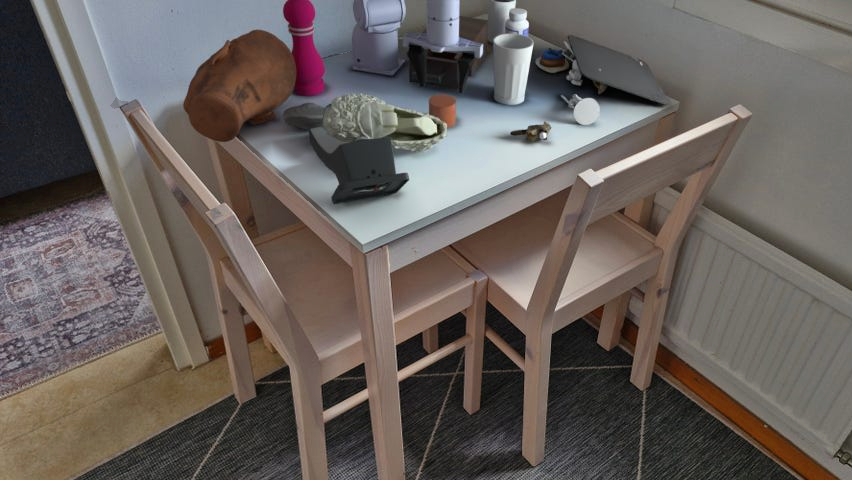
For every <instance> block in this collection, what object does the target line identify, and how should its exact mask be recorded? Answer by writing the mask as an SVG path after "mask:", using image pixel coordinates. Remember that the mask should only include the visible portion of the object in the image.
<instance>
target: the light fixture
mask: <svg viewBox="0 0 852 480" xmlns="http://www.w3.org/2000/svg"><path fill="white" fill-rule="evenodd" d="M307 132H308V138H309V143H310V145H311V147H312V149H313V151H314V153H315V154H316V155H317V157H318V158H319V159H320V161H321V162H322V163H323V165H324V166H325V167H326V168H327V169H329V170H330V171H331V172H332V173H333V174H334V175H335V177H336V179H337V183H338V185H337V187H336V189H335V190H334V191H333V193H332V195H331V196H330V198H331V204H333V205H338V204H339V205H340V204H344V203H350V202H356V201H362V200H368V199H374V198H379V197H383V196H390V195H394V194H397V193H398V192H400V190H401V189H402V188H403V187H405V185H406V184H407V183H408V182H409V181H410V176H409V173H408V172H400V173H397V170H396V164H395V155H394V148H393V145H392V141H391V138H375V139H368V138H367V137H364V136H360V137H357V138H355V139H354V141H353V142H349V143H345V142H342V141H340V140H338V139H336V138H333V137H331V135H327V133H326V131H325V130H324V129H323V127H322V126H318V127H313V128H309V129H308V130H307Z"/></svg>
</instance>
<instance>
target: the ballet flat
mask: <svg viewBox="0 0 852 480" xmlns="http://www.w3.org/2000/svg"><path fill="white" fill-rule="evenodd" d="M324 108H325V109H324V114H323V118H322V123H321V125H322V127H323V129H324V130H325V131H326V133H327V135H331V137H333V138H336V139H338V140H340V141H342V142H345V143H349V142H353V141H354V139H355V138H357V137H360V136H364V137H367V138H368V139H375V138H391V141H392V146H393V147H394V148H395V149H396V150H397V149H400V150H408V151H410V152H414V151H415V153H418V152H426V151H427V150H430V149H431V148H433V146H436V145H437V144H439V143H441V141H442V140H443V139H444V138H446V137H447V135H446V134H447V129H448V128H447V125H446V123H444V122H443V121H441V120H440V119H439V118H438V117H434V116H431V115H429V112H427V113H423V112H421V111H416V110H415V109H410V108H408V109H407V108H403V107H398V106H395V105H393V104H388V103H387V102H386V101H385V100H383V99H380V98H379V97H376V96H373V95H371V94H363V92H361V93H359V94H358V93H350V94H343V95H341V96H337V97H335V98H334V99H332V100H331V103H328V104H327V105H326V106H325V107H324Z"/></svg>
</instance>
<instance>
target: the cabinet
mask: <svg viewBox="0 0 852 480" xmlns="http://www.w3.org/2000/svg"><path fill="white" fill-rule="evenodd" d="M488 22H489V20H488V19H483V18H476V17H468V16H463V15H459V37H460V38H463V39H466V40H470V41H473V42H476V43H481V44H483V54H482V56H481V57H480V58H476V60H475V62H474V64H473V66H472V68H471V70H470V73H469V76H468V77H473V74H474V73H475V71H476V70H477V68H478V67H479V65H480V63H481V62H482V61H483V59H484V58H485V56H486V55H487V53H488V42H489V41H488ZM421 33H422V34H427V27H426V28H425V29H424V30H423V31H422V32H421Z"/></svg>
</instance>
